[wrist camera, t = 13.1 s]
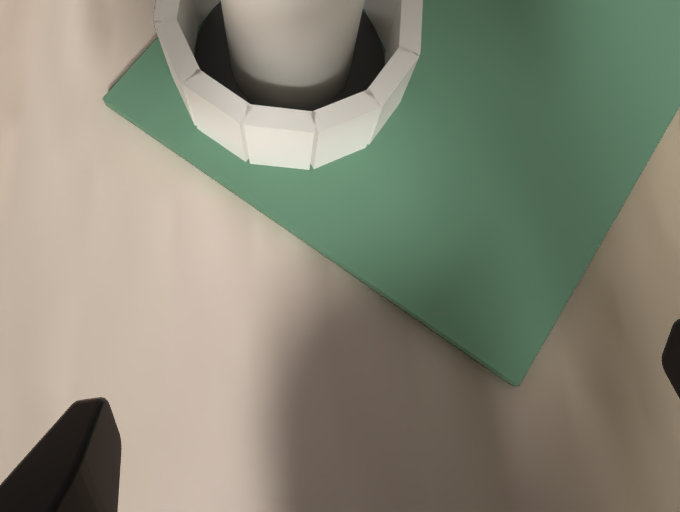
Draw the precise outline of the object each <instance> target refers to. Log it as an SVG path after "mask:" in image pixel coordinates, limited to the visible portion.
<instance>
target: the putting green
mask: <svg viewBox="0 0 680 512" xmlns="http://www.w3.org/2000/svg"><path fill="white" fill-rule="evenodd" d="M153 21H154V27H155V29H156V32H157V35H158V37H157V39H156V40H155V41H154V42H153V43H152V44H151V45H150V46H149V47H148V49H147V50H146V51H145V52H144V53H143V54H142V55H141V56H140V57H139V59H138V60H137V61H136V62H135V63H134V64H133V65H132V66H131V67H130V68H129V70H128V71H127V72H126V73H125V74H124V75H123V76H122V77H121V78H120V80H119V81H118V82H117V83H116V84H115V85H114V86H113V87H112V88H111V89H110V91H109V92H108V93H107V94H106V95H105V96H104V97H103V98H102V99H103V100H104V102H105V104H106V105H107V106H108V107H109V108H111V109H112V110H114V111H115V112H117V113H118V114H120V115H121V116H123V117H124V118H125V119H127V120H128V121H130V122H131V123H133V124H134V125H136V126H137V127H138V128H140V129H141V130H143V131H144V132H146V133H147V134H149V135H150V136H152V137H153V138H154V139H156V140H157V141H159V142H160V143H162V144H163V145H165V146H166V147H167V148H169V149H170V150H172V151H173V152H175V153H176V154H178V155H179V156H180V157H182V158H183V159H185V160H186V161H188V162H189V163H191V164H192V165H194V166H195V167H196V168H198V169H199V170H201V171H202V172H204V173H205V174H207V175H208V176H209V177H211V178H212V179H214V180H215V181H217V182H218V183H220V184H221V185H223V186H224V187H225V188H227V189H228V190H230V191H231V192H233V193H234V194H236V195H237V196H238V197H240V198H241V199H243V200H244V201H246V202H247V203H249V204H250V205H252V206H253V207H254V208H256V209H257V210H259V211H260V212H262V213H263V214H265V215H266V216H267V217H269V218H270V219H272V220H273V221H275V222H276V223H278V224H279V225H280V226H282V227H283V228H285V229H286V230H288V231H289V232H291V233H292V234H294V235H295V236H296V237H298V238H299V239H301V240H302V241H304V242H305V243H307V244H308V245H309V246H311V247H312V248H314V249H315V250H317V251H318V252H320V253H321V254H323V255H324V256H325V257H327V258H328V259H330V260H331V261H333V262H334V263H336V264H337V265H338V266H340V267H341V268H343V269H344V270H346V271H347V272H349V273H350V274H352V275H353V276H354V277H356V278H357V279H359V280H360V281H362V282H363V283H365V284H366V285H367V286H369V287H370V288H372V289H373V290H375V291H376V292H378V293H379V294H380V295H382V296H383V297H385V298H386V299H388V300H389V301H391V302H392V303H394V304H395V305H396V306H398V307H399V308H401V309H402V310H404V311H405V312H407V313H408V314H409V315H411V316H412V317H414V318H415V319H417V320H418V321H420V322H421V323H423V324H424V325H425V326H427V327H428V328H430V329H431V330H433V331H434V332H436V333H437V334H438V335H440V336H441V337H443V338H444V339H446V340H447V341H449V342H450V343H452V344H453V345H454V346H456V347H457V348H459V349H460V350H462V351H463V352H465V353H466V354H467V355H469V356H470V357H472V358H473V359H475V360H476V361H478V362H479V363H480V364H482V365H483V366H485V367H486V368H488V369H489V370H491V371H492V372H494V373H495V374H496V375H498V376H499V377H501V378H502V379H504V380H505V381H507V382H508V383H509V384H511V385H512V386H519V385H520V383H521V382H522V380H523V378H524V376H525V375H526V373H527V371H528V369H529V368H530V366H531V364H532V363H533V361H534V359H535V357H536V356H537V354H538V352H539V350H540V349H541V347H542V345H543V343H544V342H545V340H546V338H547V336H548V335H549V333H550V331H551V329H552V328H553V326H554V324H555V322H556V321H557V319H558V317H559V316H560V314H561V312H562V310H563V309H564V307H565V305H566V303H567V302H568V300H569V298H570V296H571V295H572V293H573V291H574V289H575V288H576V286H577V284H578V282H579V281H580V279H581V277H582V275H583V274H584V272H585V270H586V268H587V267H588V265H589V263H590V262H591V260H592V258H593V256H594V255H595V253H596V251H597V249H598V248H599V246H600V244H601V242H602V241H603V239H604V237H605V235H606V234H607V232H608V230H609V228H610V227H611V225H612V223H613V221H614V220H615V218H616V216H617V215H618V213H619V211H620V209H621V208H622V206H623V204H624V202H625V201H626V199H627V197H628V195H629V194H630V192H631V190H632V188H633V187H634V185H635V183H636V181H637V180H638V178H639V176H640V174H641V173H642V171H643V169H644V168H645V166H646V164H647V162H648V161H649V159H650V157H651V155H652V154H653V152H654V150H655V148H656V147H657V145H658V143H659V141H660V140H661V138H662V136H663V134H664V133H665V131H666V129H667V127H668V126H669V124H670V122H671V120H672V119H673V117H674V115H675V114H676V112H677V110H678V108H679V107H680V0H364V5H363V10H362V15H361V19H360V24H359V29H358V34H357V39H356V43H355V48H354V53H353V58H352V63H351V67H350V72H349V76H348V79H347V82H346V84H345V86H344V88H343V90H342V91H341V93H340V94H339V95H338V96H337V98H336V99H335V100H333V101H332V102H331V103H330V104H329V105H327V106H325V107H322V108H319V109H317V110H314V111H305V110H296V109H288V108H279V107H270V106H261V105H256V104H255V103H254V102H252V101H251V100H250V99H249V98H248V97H247V96H246V95H245V94H244V93H243V92H242V90H241V89H240V88H239V86H238V84H237V82H236V80H235V78H234V75H233V72H232V67H231V61H230V55H229V49H228V43H227V36H226V30H225V24H224V18H223V12H222V6H221V0H156V5H155V11H154V17H153Z"/></svg>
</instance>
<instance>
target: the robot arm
mask: <svg viewBox="0 0 680 512" xmlns="http://www.w3.org/2000/svg"><path fill="white" fill-rule="evenodd" d="M662 365H663V369H664V371H665V373H666V375H667V377H668V378H669V380H670V382H671V384H672V386H673V387H674V389H675V391H676V393H677V395H678V396H679V398H680V319H678V320H677V321H676V322H675V323H674V324H673V326H672V329H671V332H670V335H669V337H668V340H667V343H666V346H665V348H664V351H663V354H662ZM120 464H121V438H120V434H119V431H118V428H117V425H116V422H115V419H114V416H113V413H112V410H111V407H110V405H109V402H108V401H107V400H106V399H105V398H102V397H99V398H91V399H84V400H79V401H76V402H75V403H73V404H72V405H71V406H70V407H69V408H68V410H67V411H66V412H65V413H64V414H63V415H62V416H61V417H60V418H59V420H58V421H57V422H56V423H55V424H54V425H53V426H52V427H51V429H50V430H49V431H48V432H47V433H46V434H45V435H44V436H43V438H42V439H41V440H40V441H39V442H38V443H37V444H36V445H35V447H34V448H33V449H32V450H31V451H30V452H29V453H28V454H27V456H26V457H25V458H24V459H23V460H22V461H21V462H20V463H19V464H18V466H17V467H16V468H15V469H14V470H13V471H12V472H11V473H10V475H9V476H8V477H7V478H6V479H5V480H4V481H3V482H2V484H1V485H0V512H117V509H118V494H119V479H120Z"/></svg>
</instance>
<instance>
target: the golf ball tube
mask: <svg viewBox="0 0 680 512" xmlns="http://www.w3.org/2000/svg"><path fill="white" fill-rule="evenodd" d="M363 5H364V0H221V6H222V12H223V18H224V24H225V30H226V36H227V43H228V49H229V55H230V61H231V67H232V72H233V75H234V78H235V80H236V82H237V84H238V86H239V88H240V89H241V90H242V92H243V93H244V94H245V95H246V96H247V97H248V98H249V99H250V100H251V101H252V102H254V103H255V104H256V105H261V106H270V107H279V108H288V109H296V110H305V111H314V110H317V109H319V108H322V107H325V106H327V105H329V104H330V103H331V102H332V101H333V100H335V99H336V98H337V96H338V95H339V94H340V93H341V91H342V90H343V88H344V86H345V84H346V82H347V79H348V76H349V72H350V67H351V63H352V58H353V53H354V48H355V43H356V39H357V34H358V29H359V24H360V19H361V15H362V10H363Z"/></svg>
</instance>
